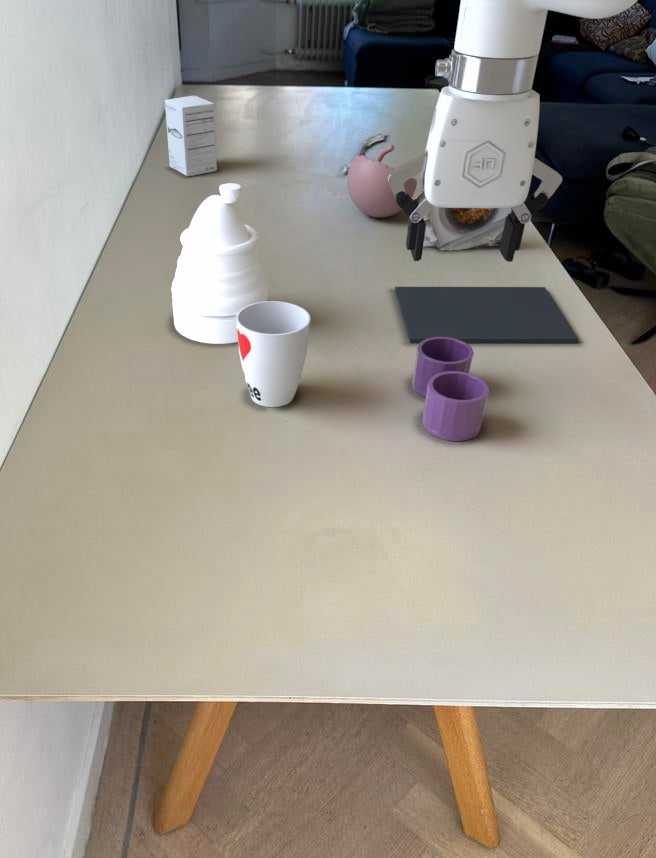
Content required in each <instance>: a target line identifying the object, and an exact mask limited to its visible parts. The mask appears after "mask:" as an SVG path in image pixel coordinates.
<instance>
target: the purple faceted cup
mask: <svg viewBox="0 0 656 858" xmlns="http://www.w3.org/2000/svg"><path fill="white" fill-rule="evenodd" d="M489 393H490V388H489V385H488V383H486V381H484V379H482V378H481V377H479V376H477V375H475V374H472V373H471V372H470V373H465V372H460V371H446V372H442V373H438V374H436V375H434V376H433V377H431V378H430V380H429V382H428V386H427V392H426V398H425V400H424V405H423V412H422V426H423V428H424V429H425V430H426V432H427V433H428V434H430V435H432V436H433V437H436V438H437V439H440V440H444V441H449V442H462V441H463V442H464V441H468V440H471V439H473V438H475V437H476V436H477V435H478V434H479V433H480V432H481V428H482V425H483V419H484V416H485V410H486V405H487V401H488V397H489Z"/></svg>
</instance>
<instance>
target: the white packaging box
mask: <svg viewBox="0 0 656 858" xmlns="http://www.w3.org/2000/svg"><path fill="white" fill-rule="evenodd" d="M164 108H165V122H166V132H167V133H166V134H167V148H168V162H169V168H171V169H173V170H175V171H177V172H178V173H180V174H182V175H184V176H185V177H192V176H198V175H202V174H203V175H204V174H208V173H212V172H217V170H218V165H217V164H218V163H217V139H216V136H217V135H216V112H215V109H216V108H215V102H212V101H209V100H207V99H205V98H202V97H200V96H197V95H188V96H180V97H175V98H168V99H164Z"/></svg>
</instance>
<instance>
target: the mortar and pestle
mask: <svg viewBox="0 0 656 858" xmlns="http://www.w3.org/2000/svg"><path fill="white" fill-rule="evenodd" d="M394 150H395V145H394V144H389V145H387V146H385V147H382V148H380V149H379V151H378V153H377V155H376V156H375V158H374V159H373V158H371V157H367V156H365V154H364V155H363V154H362V156H359V155H358V154H355V155H354V157H353V159H352V161H351V162H352V163H351V162H350V163H351V165H350V168H349V171H348V172H347V175H346V176H347V177H346V186H347V192H348V196H349V198H350V200H351V201H352V203H353V204H354V206H355V207H356V208H357V209H358V210H359V211H360V212H361V213H363V214H365V215H366V216H369V217H372V218H388V217H391V216H394V215H396V214H397V213H399V212H401V211H403V210H402V209H401V208H400V206H399V205H398V204H397V202H396V200H395V197H394V195H393V192H392V189H391V187H390V184H389V182H388V179H387V174H388V172H389V171H391V170H393V169H395V168H394V167H392V166H389V165H388V164H385V163H382V161H383V159H384V157H385V156H386V155H387V154H389V153H392V152H393V151H394ZM417 186H418V180H417V178H415V177H413V178H411V179H409V180H407V181H405V183H404V188H405V191H406V192H407V193H408V195H409V196H410V197H411V198H412V199H413V198H414V195H415V193H416V189H417Z"/></svg>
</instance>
